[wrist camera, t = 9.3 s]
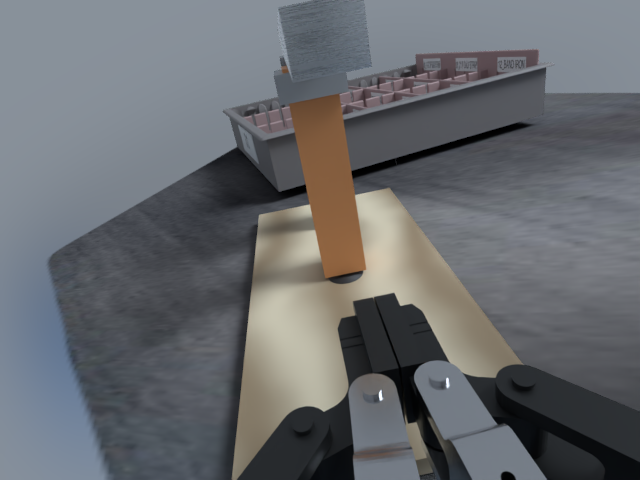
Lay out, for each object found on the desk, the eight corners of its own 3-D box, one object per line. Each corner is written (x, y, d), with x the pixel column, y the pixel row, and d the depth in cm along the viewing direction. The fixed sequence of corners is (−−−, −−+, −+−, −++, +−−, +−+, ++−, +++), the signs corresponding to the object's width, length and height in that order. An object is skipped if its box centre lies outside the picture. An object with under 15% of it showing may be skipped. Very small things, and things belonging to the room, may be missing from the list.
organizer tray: (234, 154, 76) (218, 98, 71) (423, 104, 85) (420, 52, 80) (276, 206, 48) (255, 120, 44) (551, 124, 57) (557, 46, 53)
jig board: (390, 196, 44) (389, 187, 43) (568, 444, 17) (571, 427, 17) (261, 223, 44) (259, 214, 43) (236, 513, 17) (229, 498, 17)
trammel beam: (339, 200, 43) (308, 23, 36) (418, 406, 19) (373, -13, 11) (310, 206, 43) (274, 30, 36) (353, 419, 19) (267, 9, 11)
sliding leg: (363, 246, 33) (334, 55, 26) (374, 271, 29) (344, 57, 23) (314, 256, 33) (273, 67, 26) (318, 283, 29) (272, 72, 23)
